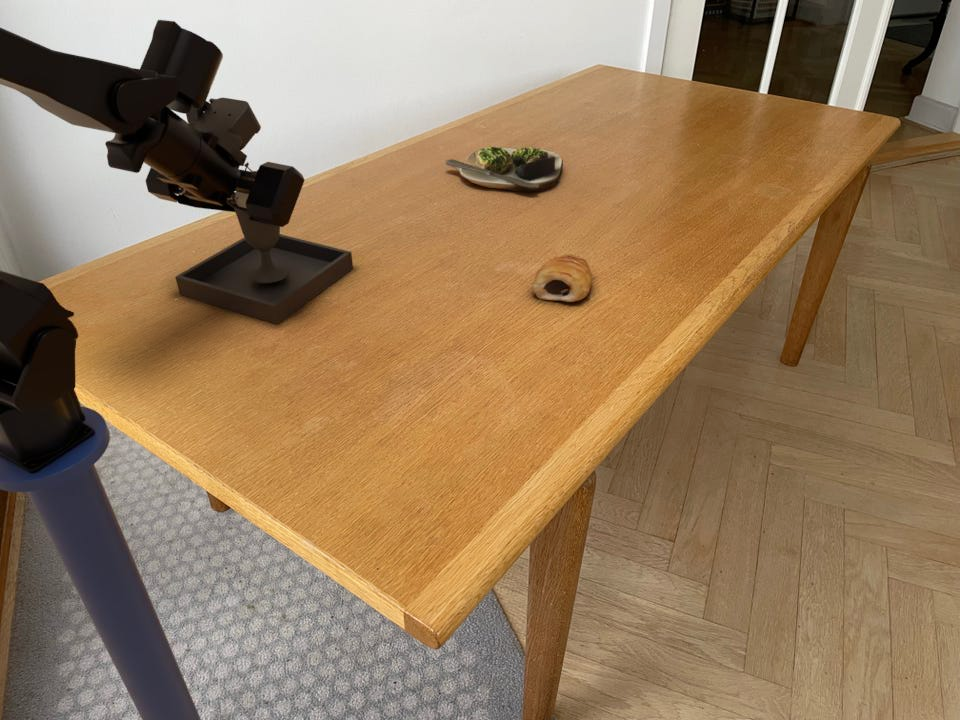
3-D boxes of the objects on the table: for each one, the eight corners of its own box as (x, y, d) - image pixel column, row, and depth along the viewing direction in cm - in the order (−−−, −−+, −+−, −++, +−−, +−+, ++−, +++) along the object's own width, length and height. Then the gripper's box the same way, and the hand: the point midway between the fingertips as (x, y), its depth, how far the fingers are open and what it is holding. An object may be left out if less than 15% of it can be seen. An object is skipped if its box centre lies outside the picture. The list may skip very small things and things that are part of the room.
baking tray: (277, 324, 83) (273, 306, 82) (179, 294, 89) (174, 276, 87) (353, 268, 94) (351, 251, 93) (262, 245, 100) (259, 228, 99)
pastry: (548, 264, 95) (550, 238, 93) (599, 273, 94) (602, 246, 91) (529, 299, 88) (531, 271, 86) (583, 309, 86) (587, 281, 84)
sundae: (257, 293, 87) (234, 171, 78) (232, 272, 91) (208, 155, 82) (306, 276, 90) (289, 158, 82) (279, 257, 94) (261, 143, 86)
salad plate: (433, 189, 116) (432, 161, 114) (459, 152, 131) (458, 126, 128) (552, 200, 113) (554, 171, 110) (566, 160, 127) (568, 134, 125)
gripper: (279, 90, 70) (353, 165, 85) (139, 69, 77) (230, 142, 92) (239, 194, 69) (321, 253, 84) (99, 164, 76) (198, 223, 90)
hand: (266, 213), depth 87 cm, fingers closed on sundae, 6 cm apart
